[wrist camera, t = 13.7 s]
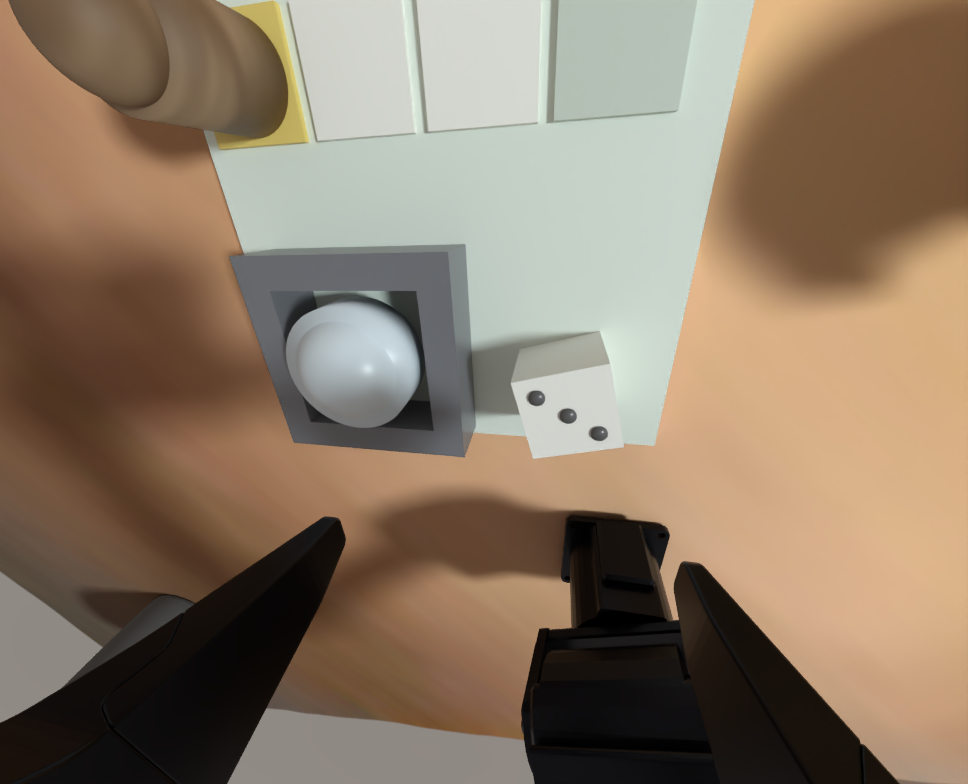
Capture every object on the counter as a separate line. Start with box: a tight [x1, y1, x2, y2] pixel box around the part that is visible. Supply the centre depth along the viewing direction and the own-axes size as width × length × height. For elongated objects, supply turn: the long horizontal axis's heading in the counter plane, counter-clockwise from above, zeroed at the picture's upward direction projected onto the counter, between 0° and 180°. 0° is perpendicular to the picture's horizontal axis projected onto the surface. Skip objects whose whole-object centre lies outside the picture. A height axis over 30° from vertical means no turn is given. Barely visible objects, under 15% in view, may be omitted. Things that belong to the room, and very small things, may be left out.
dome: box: [286, 296, 425, 428], centre depth 17 cm, size 6×6×5 cm
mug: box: [62, 595, 195, 688], centre depth 39 cm, size 14×9×12 cm
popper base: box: [229, 244, 476, 457], centre depth 18 cm, size 10×10×3 cm
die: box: [511, 331, 624, 459], centre depth 17 cm, size 4×4×4 cm
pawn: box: [9, 0, 288, 138], centre depth 12 cm, size 4×4×7 cm
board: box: [203, 0, 755, 446], centre depth 17 cm, size 20×22×1 cm
